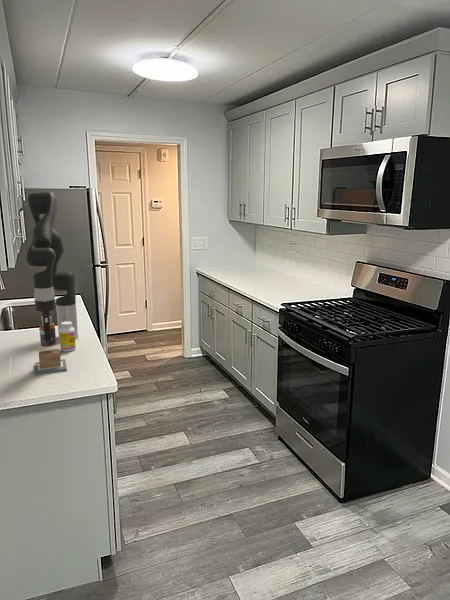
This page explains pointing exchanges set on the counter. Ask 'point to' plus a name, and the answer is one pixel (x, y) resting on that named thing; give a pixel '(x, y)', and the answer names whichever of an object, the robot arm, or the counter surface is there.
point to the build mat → (51, 369)
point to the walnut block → (49, 358)
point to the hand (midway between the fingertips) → (48, 338)
